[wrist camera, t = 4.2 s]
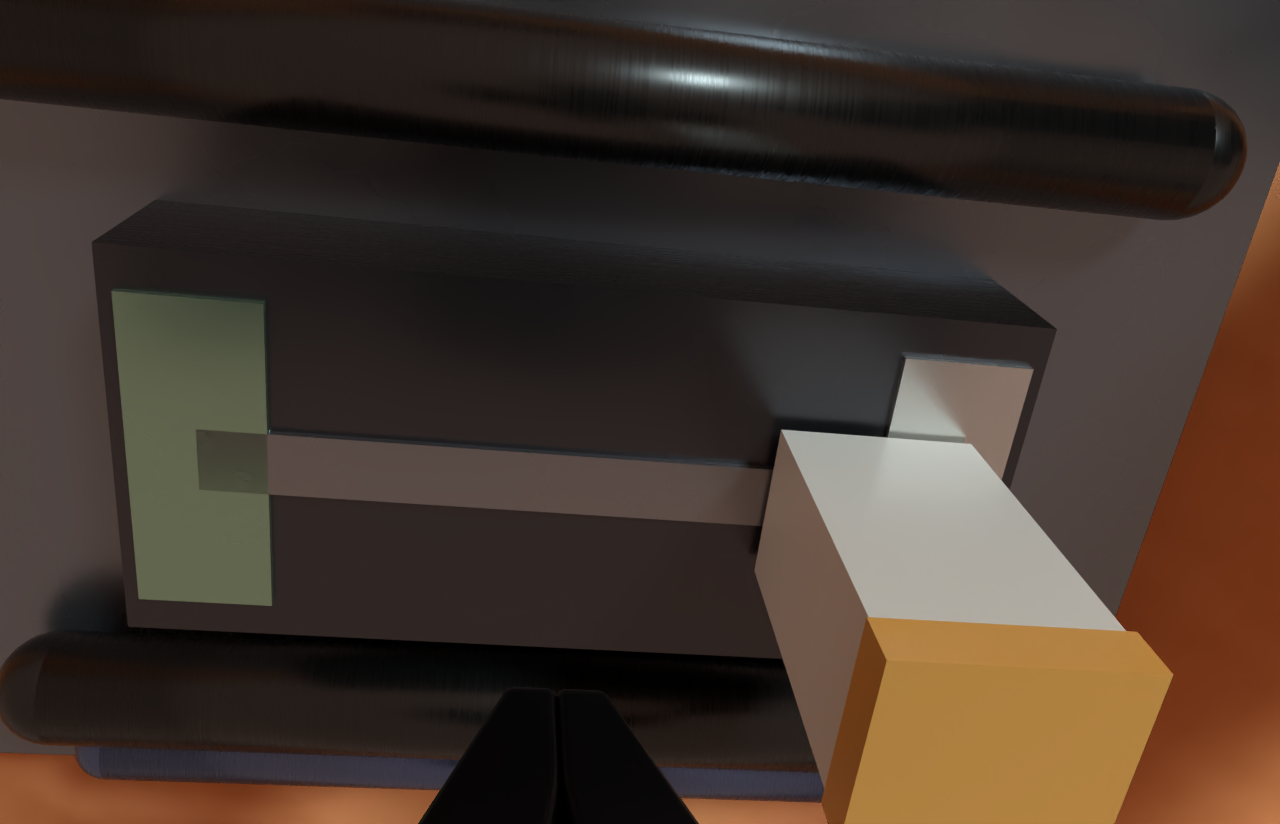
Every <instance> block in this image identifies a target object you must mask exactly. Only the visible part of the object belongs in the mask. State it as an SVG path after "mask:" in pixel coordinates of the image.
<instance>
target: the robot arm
mask: <svg viewBox="0 0 1280 824" xmlns="http://www.w3.org/2000/svg"><path fill="white" fill-rule="evenodd" d="M418 824H699V823H698V822H697V821H696V819H695V818H694V816H693V815H692V813H691V812H690V811H689V809H688V808H687V806H686V805H685V804H684V802H683V801H682V799H681V798H680V797H679V795H678V794H677V792H676V791H675V790H674V788H673V787H672V785H671V784H670V783H669V781H668V780H667V778H666V777H665V775H664V774H663V773H662V771H661V770H660V768H659V767H658V766H657V764H656V763H655V761H654V760H653V759H652V757H651V756H650V754H649V753H648V752H647V750H646V749H645V747H644V746H643V744H642V743H641V742H640V740H639V739H638V737H637V736H636V735H635V733H634V732H633V730H632V729H631V728H630V726H629V725H628V723H627V722H626V721H625V719H624V718H623V716H622V715H621V713H620V712H619V711H618V709H617V708H616V706H615V705H614V704H613V702H612V701H611V699H610V698H609V697H608V695H607V694H605V693H604V692H602V691H598V690H576V689H562V690H561V691H559V692H558V694H557V695H556V696H555V694H554V692H553V691H552V690H551V689H548V688H528V687H511V688H509V689H507V690H506V691H505V692H504V693H503V695H502V696H501V698H500V699H499V701H498V702H497V704H496V705H495V707H494V708H493V710H492V711H491V713H490V714H489V716H488V717H487V719H486V721H485V722H484V724H483V725H482V727H481V728H480V730H479V731H478V733H477V734H476V736H475V737H474V739H473V740H472V742H471V744H470V745H469V747H468V748H467V750H466V751H465V753H464V754H463V756H462V757H461V759H460V760H459V762H458V763H457V765H456V767H455V768H454V770H453V771H452V773H451V774H450V776H449V777H448V779H447V780H446V782H445V783H444V785H443V786H442V788H441V790H440V791H439V793H438V794H437V796H436V797H435V799H434V800H433V802H432V803H431V805H430V806H429V808H428V809H427V811H426V813H425V814H424V816H423V817H422V819H421V820H420V822H419V823H418Z"/></svg>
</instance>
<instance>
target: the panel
mask: <svg viewBox="0 0 1280 824" xmlns="http://www.w3.org/2000/svg"><path fill="white" fill-rule="evenodd" d="M1279 162H1280V0H0V752H1V753H30V754H59V755H75V757H76V760H77V762H78V764H79V766H80V767H81V768H82V770H83V771H84V772H85V773H87V774H89V775H90V776H93V777H95V778H98V779H105V780H136V781H167V782H198V783H229V784H260V785H290V786H321V787H352V788H383V789H414V790H441V788H442V786H443V785H444V783H445V782H446V780H447V779H448V777H449V776H450V774H451V773H452V771H453V770H454V768H455V767H456V765H457V763H458V762H459V760H460V759H461V757H462V756H463V754H464V753H465V751H466V750H467V748H468V747H469V745H470V744H471V742H472V740H473V739H474V737H475V736H476V734H477V733H478V731H479V730H480V728H481V727H482V725H483V724H484V722H485V721H486V719H487V717H488V716H489V714H490V713H491V711H492V710H493V708H494V707H495V705H496V704H497V702H498V701H499V699H500V698H501V696H502V695H503V693H504V692H505V691H506V690H507V689H509V688H511V687H528V688H548V689H551V690H552V691H553V692H554V694H555V696H556V695H557V694H558V692H559V691H561V690H562V689H576V690H598V691H602V692H604V693H605V694H607V695H608V697H609V698H610V699H611V701H612V702H613V704H614V705H615V706H616V708H617V709H618V711H619V712H620V713H621V715H622V716H623V718H624V719H625V721H626V722H627V723H628V725H629V726H630V728H631V729H632V730H633V732H634V733H635V735H636V736H637V737H638V739H639V740H640V742H641V743H642V744H643V746H644V747H645V749H646V750H647V752H648V753H649V754H650V756H651V757H652V759H653V760H654V761H655V763H656V764H657V766H658V767H659V768H660V770H661V771H662V773H663V774H664V775H665V777H666V778H667V780H668V781H669V783H670V784H671V785H672V787H673V788H674V790H675V791H676V792H677V794H678V795H679V797H680V798H692V799H722V800H753V801H784V802H815V803H821V800H822V796H823V792H824V786H823V783H822V780H821V777H820V774H819V770H818V767H817V764H816V761H815V758H814V755H813V752H812V749H811V745H810V742H809V739H808V736H807V733H806V730H805V727H804V724H803V721H802V717H801V714H800V711H799V708H798V705H797V702H796V699H795V696H794V693H793V689H792V686H791V683H790V680H789V677H788V674H787V671H786V668H785V664H784V661H783V658H782V655H781V652H780V649H779V646H778V643H777V640H776V636H775V633H774V630H773V627H772V624H771V621H770V618H769V615H768V612H767V608H766V605H765V602H764V599H763V596H762V593H761V590H760V587H759V584H758V580H757V577H756V574H755V571H754V570H755V564H756V559H757V554H758V549H759V543H760V538H761V533H762V528H763V522H764V517H765V512H766V507H767V501H768V496H769V491H770V486H771V480H772V475H773V470H774V465H775V459H776V454H777V449H778V444H779V438H780V433H781V430H793V431H806V432H819V433H833V434H846V435H859V436H872V437H885V438H899V439H912V440H925V441H938V442H952V443H965V444H972V445H973V447H974V448H975V449H976V450H977V451H978V453H979V454H980V455H981V456H982V458H983V459H984V460H985V461H986V462H987V464H988V465H989V466H990V467H991V468H992V470H993V471H994V472H995V473H996V474H997V476H998V477H999V478H1000V479H1001V480H1002V482H1003V483H1004V484H1005V485H1006V487H1007V488H1008V489H1009V490H1010V491H1011V493H1012V494H1013V495H1014V496H1015V497H1016V499H1017V500H1018V501H1019V502H1020V503H1021V505H1022V506H1023V507H1024V508H1025V509H1026V511H1027V512H1028V513H1029V514H1030V515H1031V517H1032V518H1033V519H1034V520H1035V522H1036V523H1037V524H1038V525H1039V526H1040V528H1041V529H1042V530H1043V531H1044V532H1045V534H1046V535H1047V536H1048V537H1049V538H1050V540H1051V541H1052V542H1053V543H1054V544H1055V546H1056V547H1057V548H1058V549H1059V551H1060V552H1061V553H1062V554H1063V555H1064V557H1065V558H1066V559H1067V560H1068V561H1069V563H1070V564H1071V565H1072V566H1073V567H1074V569H1075V570H1076V571H1077V572H1078V573H1079V575H1080V576H1081V577H1082V578H1083V579H1084V581H1085V582H1086V583H1087V584H1088V586H1089V587H1090V588H1091V589H1092V590H1093V592H1094V593H1095V594H1096V595H1097V596H1098V598H1099V599H1100V600H1101V601H1102V602H1103V604H1104V605H1105V606H1106V607H1107V608H1108V610H1109V611H1110V612H1111V613H1112V615H1113V616H1114V617H1115V616H1116V614H1117V611H1118V608H1119V605H1120V603H1121V600H1122V597H1123V594H1124V592H1125V589H1126V586H1127V583H1128V580H1129V578H1130V575H1131V572H1132V569H1133V567H1134V564H1135V561H1136V558H1137V555H1138V553H1139V550H1140V547H1141V544H1142V542H1143V539H1144V536H1145V533H1146V531H1147V528H1148V525H1149V522H1150V519H1151V517H1152V514H1153V511H1154V508H1155V506H1156V503H1157V500H1158V497H1159V494H1160V492H1161V489H1162V486H1163V483H1164V481H1165V478H1166V475H1167V472H1168V470H1169V467H1170V464H1171V461H1172V458H1173V456H1174V453H1175V450H1176V447H1177V445H1178V442H1179V439H1180V436H1181V434H1182V431H1183V428H1184V425H1185V422H1186V420H1187V417H1188V414H1189V411H1190V409H1191V406H1192V403H1193V400H1194V397H1195V395H1196V392H1197V389H1198V386H1199V384H1200V381H1201V378H1202V375H1203V373H1204V370H1205V367H1206V364H1207V361H1208V359H1209V356H1210V353H1211V350H1212V348H1213V345H1214V342H1215V339H1216V337H1217V334H1218V331H1219V328H1220V325H1221V323H1222V320H1223V317H1224V314H1225V312H1226V309H1227V306H1228V303H1229V300H1230V298H1231V295H1232V292H1233V289H1234V287H1235V284H1236V281H1237V278H1238V276H1239V273H1240V270H1241V267H1242V264H1243V262H1244V259H1245V256H1246V253H1247V251H1248V248H1249V245H1250V242H1251V240H1252V237H1253V234H1254V231H1255V228H1256V226H1257V223H1258V220H1259V217H1260V215H1261V212H1262V209H1263V206H1264V203H1265V201H1266V198H1267V195H1268V192H1269V190H1270V187H1271V184H1272V181H1273V179H1274V176H1275V173H1276V170H1277V167H1278V165H1279Z"/></svg>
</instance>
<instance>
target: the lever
mask: <svg viewBox="0 0 1280 824" xmlns="http://www.w3.org/2000/svg"><path fill="white" fill-rule="evenodd" d="M754 571H755V574H756V577H757V580H758V584H759V587H760V590H761V593H762V596H763V599H764V602H765V605H766V608H767V612H768V615H769V618H770V621H771V624H772V627H773V630H774V633H775V636H776V640H777V643H778V646H779V649H780V652H781V655H782V658H783V661H784V664H785V668H786V671H787V674H788V677H789V680H790V683H791V686H792V689H793V693H794V696H795V699H796V702H797V705H798V708H799V711H800V714H801V717H802V721H803V724H804V727H805V730H806V733H807V736H808V739H809V742H810V745H811V749H812V752H813V755H814V758H815V761H816V764H817V767H818V770H819V774H820V777H821V780H822V783H823V786H824V792H823V796H822V800H821V803H822V806H823V809H824V812H825V816H826V819H827V822H828V824H1114V823H1115V821H1116V818H1117V816H1118V813H1119V810H1120V808H1121V805H1122V803H1123V800H1124V798H1125V795H1126V793H1127V790H1128V788H1129V785H1130V783H1131V780H1132V778H1133V775H1134V773H1135V770H1136V768H1137V765H1138V763H1139V760H1140V758H1141V755H1142V753H1143V750H1144V748H1145V745H1146V743H1147V740H1148V738H1149V735H1150V733H1151V730H1152V728H1153V725H1154V723H1155V720H1156V718H1157V715H1158V713H1159V710H1160V708H1161V705H1162V703H1163V700H1164V698H1165V695H1166V692H1167V690H1168V687H1169V685H1170V682H1171V680H1172V677H1173V673H1172V672H1171V671H1170V670H1169V669H1168V668H1167V666H1166V665H1165V664H1164V663H1163V662H1162V660H1161V659H1160V658H1159V657H1158V656H1157V654H1156V653H1155V652H1154V651H1153V650H1152V649H1151V647H1150V646H1149V645H1148V644H1147V643H1146V641H1145V640H1144V639H1143V638H1142V637H1141V636H1140V634H1139V633H1138V632H1134V631H1126V630H1125V629H1124V628H1123V627H1122V625H1121V624H1120V623H1119V622H1118V621H1117V619H1116V618H1115V617H1114V616H1113V615H1112V613H1111V612H1110V611H1109V610H1108V608H1107V607H1106V606H1105V605H1104V604H1103V602H1102V601H1101V600H1100V599H1099V598H1098V596H1097V595H1096V594H1095V593H1094V592H1093V590H1092V589H1091V588H1090V587H1089V586H1088V584H1087V583H1086V582H1085V581H1084V579H1083V578H1082V577H1081V576H1080V575H1079V573H1078V572H1077V571H1076V570H1075V569H1074V567H1073V566H1072V565H1071V564H1070V563H1069V561H1068V560H1067V559H1066V558H1065V557H1064V555H1063V554H1062V553H1061V552H1060V551H1059V549H1058V548H1057V547H1056V546H1055V544H1054V543H1053V542H1052V541H1051V540H1050V538H1049V537H1048V536H1047V535H1046V534H1045V532H1044V531H1043V530H1042V529H1041V528H1040V526H1039V525H1038V524H1037V523H1036V522H1035V520H1034V519H1033V518H1032V517H1031V515H1030V514H1029V513H1028V512H1027V511H1026V509H1025V508H1024V507H1023V506H1022V505H1021V503H1020V502H1019V501H1018V500H1017V499H1016V497H1015V496H1014V495H1013V494H1012V493H1011V491H1010V490H1009V489H1008V488H1007V487H1006V485H1005V484H1004V483H1003V482H1002V480H1001V479H1000V478H999V477H998V476H997V474H996V473H995V472H994V471H993V470H992V468H991V467H990V466H989V465H988V464H987V462H986V461H985V460H984V459H983V458H982V456H981V455H980V454H979V453H978V451H977V450H976V449H975V448H974V447H973V445H972V444H965V443H952V442H938V441H925V440H912V439H899V438H885V437H872V436H859V435H846V434H833V433H819V432H806V431H793V430H781V433H780V438H779V444H778V449H777V454H776V459H775V465H774V470H773V475H772V480H771V486H770V491H769V496H768V501H767V507H766V512H765V517H764V522H763V528H762V533H761V538H760V543H759V549H758V554H757V559H756V564H755V570H754Z"/></svg>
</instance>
